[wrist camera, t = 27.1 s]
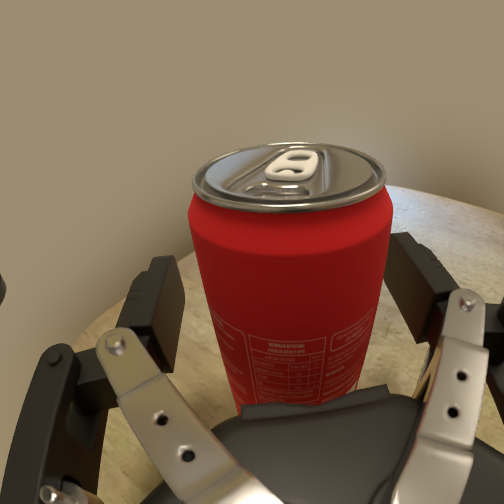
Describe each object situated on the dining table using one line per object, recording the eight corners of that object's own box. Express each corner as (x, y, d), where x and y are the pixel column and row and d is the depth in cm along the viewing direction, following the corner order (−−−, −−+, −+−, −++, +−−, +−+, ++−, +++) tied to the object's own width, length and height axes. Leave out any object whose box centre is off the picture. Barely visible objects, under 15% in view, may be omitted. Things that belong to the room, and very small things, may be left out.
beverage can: (224, 442, 13) (136, 204, 6) (261, 363, 17) (233, 139, 10) (332, 469, 11) (405, 227, 5) (353, 380, 15) (391, 146, 8)
